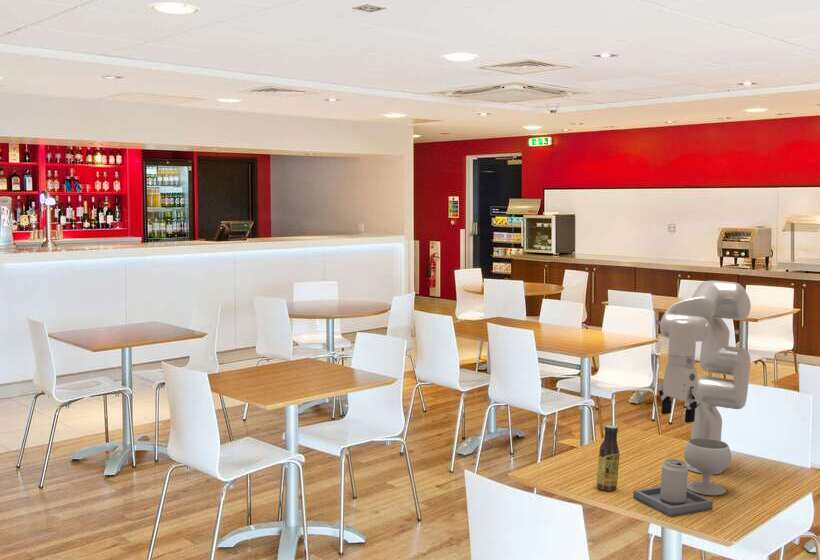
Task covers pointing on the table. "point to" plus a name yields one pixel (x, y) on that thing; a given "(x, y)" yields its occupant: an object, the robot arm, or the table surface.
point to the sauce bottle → (608, 460)
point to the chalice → (707, 463)
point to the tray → (689, 506)
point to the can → (674, 481)
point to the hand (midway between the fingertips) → (677, 417)
